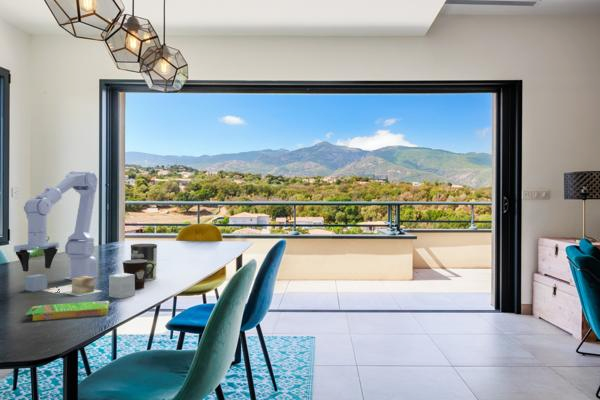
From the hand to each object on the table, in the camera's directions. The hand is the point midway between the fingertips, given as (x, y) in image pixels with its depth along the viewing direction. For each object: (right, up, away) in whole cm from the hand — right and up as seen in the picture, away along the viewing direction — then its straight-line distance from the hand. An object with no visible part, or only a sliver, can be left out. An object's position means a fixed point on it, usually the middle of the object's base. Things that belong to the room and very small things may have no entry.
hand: (36, 269), depth 152 cm
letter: (+10, -7, +3) cm, 12 cm away
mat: (+18, -8, -3) cm, 20 cm away
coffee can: (+30, -8, +22) cm, 38 cm away
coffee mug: (+35, -8, +6) cm, 36 cm away
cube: (0, -7, 0) cm, 7 cm away
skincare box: (+34, -8, -7) cm, 35 cm away
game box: (+28, -9, -29) cm, 41 cm away
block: (+18, -7, -3) cm, 20 cm away
